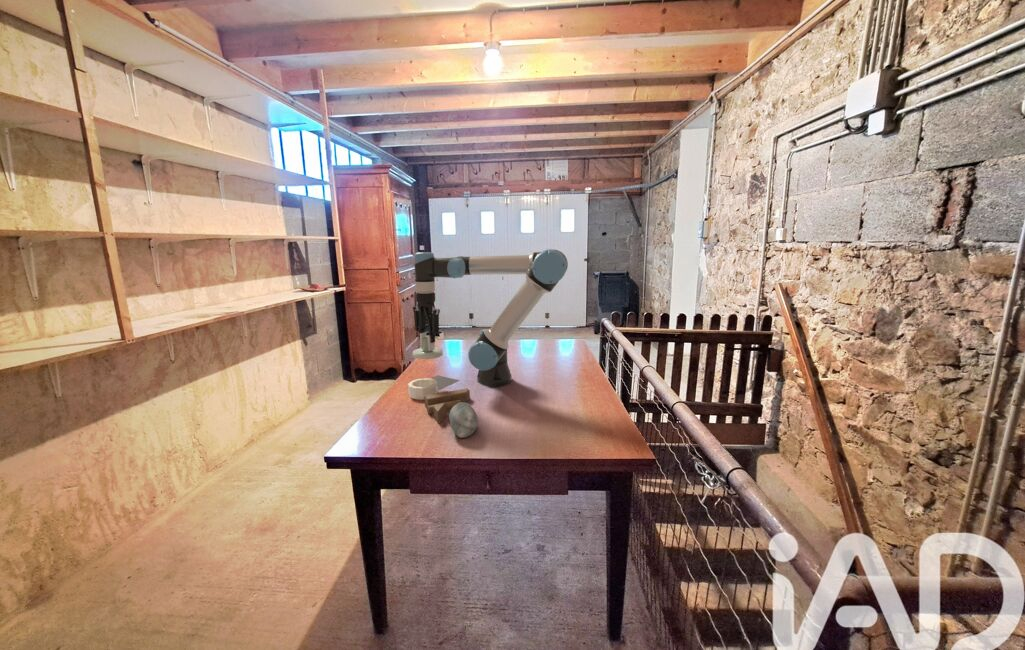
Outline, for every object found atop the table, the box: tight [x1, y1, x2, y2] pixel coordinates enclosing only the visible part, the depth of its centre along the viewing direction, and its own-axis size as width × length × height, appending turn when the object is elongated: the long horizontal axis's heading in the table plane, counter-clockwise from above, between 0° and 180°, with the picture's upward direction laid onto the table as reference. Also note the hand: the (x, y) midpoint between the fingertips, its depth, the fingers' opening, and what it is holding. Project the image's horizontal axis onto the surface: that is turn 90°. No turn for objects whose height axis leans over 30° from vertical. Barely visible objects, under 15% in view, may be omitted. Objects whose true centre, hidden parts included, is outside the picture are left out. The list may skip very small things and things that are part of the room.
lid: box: [412, 336, 444, 360], centre depth 157 cm, size 12×12×7 cm
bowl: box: [407, 377, 439, 400], centre depth 153 cm, size 11×11×5 cm
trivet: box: [430, 374, 461, 391], centre depth 167 cm, size 13×13×1 cm
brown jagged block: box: [424, 387, 471, 424], centre depth 139 cm, size 17×6×18 cm
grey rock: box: [448, 402, 479, 439], centre depth 123 cm, size 14×10×10 cm
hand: (427, 349), depth 157 cm, fingers closed on lid, 4 cm apart
